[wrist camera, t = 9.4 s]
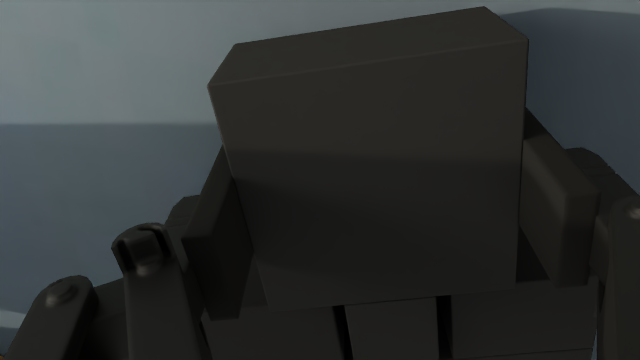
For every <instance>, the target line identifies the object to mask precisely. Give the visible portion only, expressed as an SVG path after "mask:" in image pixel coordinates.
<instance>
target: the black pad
mask: <svg viewBox="0 0 640 360" xmlns="http://www.w3.org/2000/svg"><path fill="white" fill-rule="evenodd" d="M528 52H529V39H528V38H527V37H526V36H525V35H523V34H522V33H521V32H519V31H518V30H516V29H515V28H514V27H512V26H511V25H510V24H508V23H507V22H506V21H504V20H503V19H501V18H500V17H499V16H497V15H496V14H495V13H493V12H492V11H490V10H489V9H488V8H486V7H484V6H483V7H476V8H469V9H463V10H456V11H450V12H443V13H436V14H430V15H423V16H417V17H410V18H403V19H397V20H390V21H384V22H377V23H370V24H364V25H357V26H351V27H344V28H337V29H331V30H324V31H318V32H311V33H304V34H298V35H291V36H285V37H278V38H271V39H265V40H258V41H252V42H245V43H238V44H235V45H234V46H233V47H232V49H231V50H230V52H229V53H228V55H227V56H226V58H225V59H224V61H223V62H222V64H221V65H220V66H219V68H218V69H217V71H216V72H215V74H214V75H213V77H212V78H211V80H210V81H209V83H208V84H207V88H208V91H209V95H210V99H211V102H212V106H213V109H214V113H215V116H216V120H217V124H218V127H219V131H220V134H221V138H222V142H223V145H224V149H225V152H226V156H227V159H228V163H229V167H230V170H231V174H232V177H233V180H234V184H235V187H236V191H237V194H238V198H239V201H240V205H241V209H242V212H243V216H244V219H245V223H246V226H247V230H248V234H249V237H250V241H251V244H252V248H253V252H254V256H255V260H256V263H257V267H258V270H259V274H260V277H261V281H262V285H263V288H264V292H265V295H266V299H267V302H268V306H269V310H270V311H271V312H275V311H286V310H296V309H307V308H317V307H328V306H338V305H344V307H345V313H346V319H347V324H348V330H349V336H350V341H351V347H352V353H353V358H354V360H438V359H439V345H438V325H437V305H436V296H443V295H454V294H464V293H474V292H485V291H495V290H506V289H514V288H515V282H516V264H517V246H518V229H519V209H520V191H521V173H522V155H523V140H524V123H525V105H526V87H527V69H528Z"/></svg>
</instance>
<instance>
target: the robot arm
mask: <svg viewBox="0 0 640 360" xmlns="http://www.w3.org/2000/svg"><path fill="white" fill-rule="evenodd" d="M519 225H520V226H521V228H522V230H523V232H524V234H525V235H526V237H527V239H528V241H529V243H530V244H531V246H532V248H533V250H534V251H535V253H536V255H537V257H538V259H539V260H540V262H541V264H542V266H543V267H544V269H545V271H546V273H547V275H548V276H549V278H550V280H551V282H552V283H553V285H554V287H555V289H557V288H567V287H578V286H587V285H588V279H589V272H590V267H591V268H592V270H593V271H594V273H595V274H596V276H597V277H598V278H599V282H598V288H597V294H596V300H595V306H594V312H593V317H597V360H640V196H639V195H638V194H637V193H636V192H635V191H634V190H633V189H632V188H631V187H630V186H629V185H628V184H627V183H626V182H625V181H624V180H623V179H622V178H621V177H620V176H619V175H618V174H615V171H614V170H613V169H612V168H611V167H610V166H607V163H606V162H605V161H604V160H603V159H602V158H601V157H600V156H599V155H597V154H595V153H593V152H591V151H589V150H587V149H584V148H582V147H580V148H572V149H563V148H562V147H561V145H560V144H559V143H558V142H557V141H556V140H555V139H554V138H553V137H552V136H551V134H550V133H549V132H548V131H547V130H546V129H545V128H544V127H543V126H542V124H541V123H540V122H539V121H538V120H537V119H536V118H535V117H534V116H533V115H532V113H531V112H530V111H529V110H528V109H527V108H526V107H525V123H524V140H523V155H522V173H521V191H520V209H519ZM111 249H112V251H113V254H114V256H115V258H116V260H117V262H118V265H119V267H120V269H121V271H122V273H123V278H121V279H118V280H116V281H113V282H109V283H106V284H103V285H100V286H97V287H93V285H92V283H91V281H90V280H89V279H88V278H87V277H85V276H81V275H77V276H69V277H66V278H63V279H59V280H57V281H56V282H53V283H52V284H50V285H49V286H47V287H46V288H45V289H44V290H42V291H41V292H40V293H39V294H38V296H37V297H36V298H35V300H34V301H33V303H32V305H31V307H30V309H29V311H28V313H27V315H26V317H25V319H24V320H23V322H22V324H21V326H20V328H19V330H18V332H17V334H16V336H15V338H14V339H13V341H12V343H11V345H10V347H9V349H8V351H7V353H6V355H5V357H4V358H3V360H213V358H212V354H211V350H210V347H209V343H208V339H207V335H206V332H205V329H204V326H203V323H202V321H201V317H202V314H203V311H204V308H205V307H206V310H207V313H208V316H209V318H210V321H220V320H231V319H239V315H240V310H241V306H242V301H243V297H244V292H245V288H246V284H247V279H248V275H249V270H250V266H251V261H252V257H253V248H252V244H251V241H250V237H249V234H248V230H247V226H246V223H245V219H244V216H243V212H242V209H241V205H240V201H239V198H238V194H237V191H236V187H235V184H234V180H233V177H232V174H231V170H230V167H229V163H228V159H227V156H226V152H225V149H224V145H222V147H221V149H220V151H219V154H218V156H217V158H216V160H215V163H214V165H213V167H212V169H211V171H210V174H209V176H208V178H207V180H206V183H205V185H204V187H203V189H202V192H201V194H200V195H195V196H187V197H184V198H183V199H181V200H180V201H179V202H178V203H177V204H176V205H175V206H174V207H173V208H172V210H171V212H170V214H169V216H168V219H167V220H166V222H165V224H164V225H162V224H159V223H145V224H140V225H137V226H134V227H132V228H130V229H127V230H126V231H124V232H123V233H121V234H120V235H119V236H118V237H117V238H116V239H115V240H114V241H113V243H112V246H111Z"/></svg>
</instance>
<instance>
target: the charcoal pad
mask: <svg viewBox="0 0 640 360" xmlns="http://www.w3.org/2000/svg"><path fill="white" fill-rule="evenodd" d="M598 282H599V278H598V277H597V276H596V274H595V273H594V271H593V270H592V268H591V267H590V272H589V279H588V285H587V286H578V287H567V288H557V289H555V287H554V285H553V283H552V282H551V280H550V278H549V276H548V275H547V273H546V271H545V269H544V267H543V266H542V264H541V262H540V260H539V259H538V257H537V255H536V253H535V251H534V250H533V248H532V246H531V244H530V243H529V241H528V239H527V237H526V235H525V234H524V232H523V230H522V228H521V226H520V225H519V229H518V246H517V264H516V282H515V288H514V289H506V290H495V291H485V292H474V293H464V294H454V295H443V296H436V305H437V325H438V345H439V359H438V360H591V356H592V350H593V348H592V347H593V346H594V340H595V334H596V329H597V317H593V312H594V306H595V300H596V294H597V288H598ZM201 321H202V323H203V326H204V329H205V332H206V335H207V339H208V343H209V347H210V350H211V354H212V358H213V360H354V358H353V353H352V347H351V341H350V336H349V330H348V324H347V319H346V313H345V307H344V305H338V306H328V307H317V308H307V309H296V310H286V311H275V312H271V311H270V310H269V306H268V302H267V299H266V295H265V292H264V288H263V285H262V281H261V277H260V274H259V270H258V267H257V263H256V260H255V256H254V252H253V257H252V261H251V266H250V270H249V275H248V279H247V284H246V288H245V292H244V297H243V301H242V306H241V310H240V315H239V319H231V320H220V321H210V318H209V316H208V313H207V310H206V307H205V308H204V311H203V314H202V317H201Z"/></svg>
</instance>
